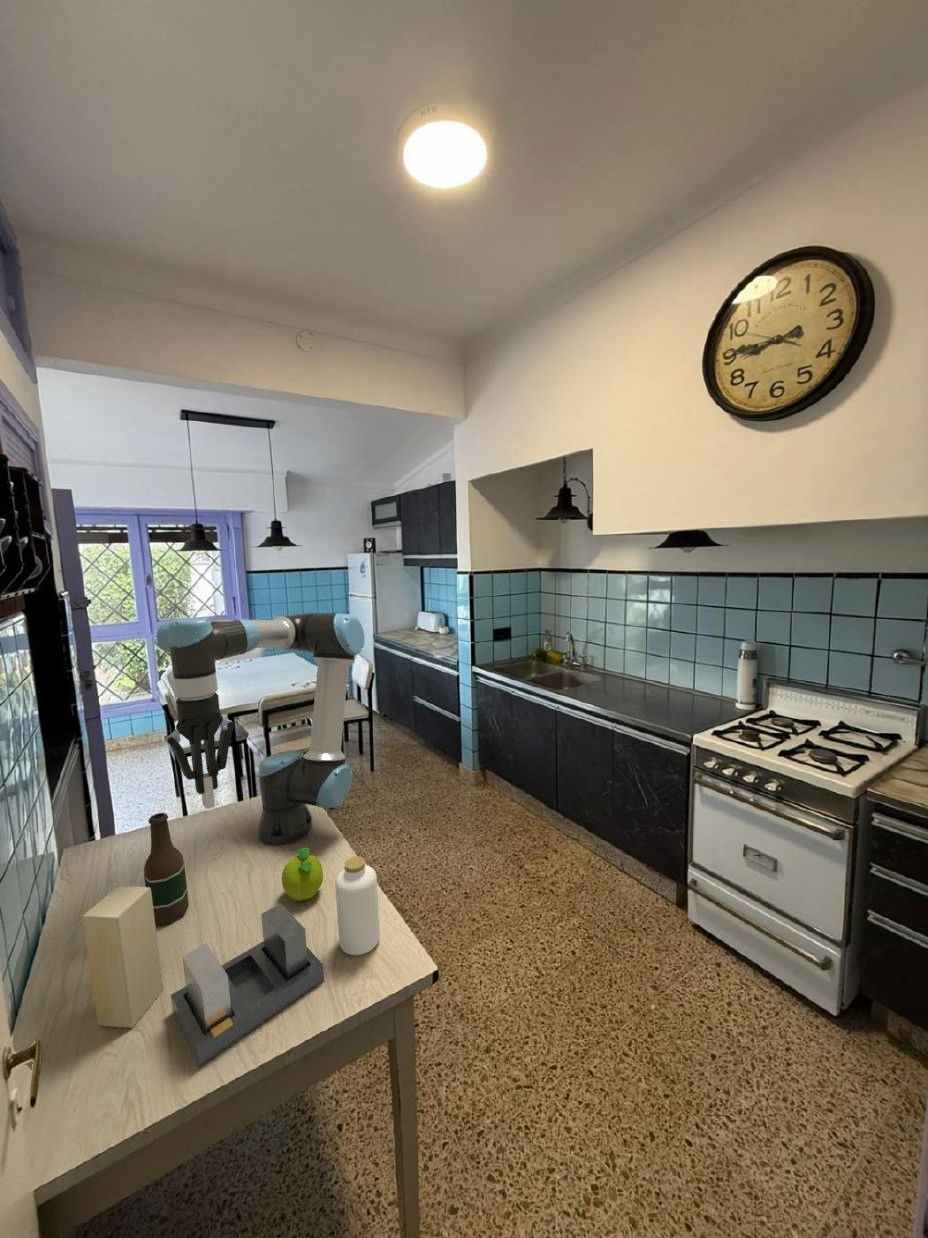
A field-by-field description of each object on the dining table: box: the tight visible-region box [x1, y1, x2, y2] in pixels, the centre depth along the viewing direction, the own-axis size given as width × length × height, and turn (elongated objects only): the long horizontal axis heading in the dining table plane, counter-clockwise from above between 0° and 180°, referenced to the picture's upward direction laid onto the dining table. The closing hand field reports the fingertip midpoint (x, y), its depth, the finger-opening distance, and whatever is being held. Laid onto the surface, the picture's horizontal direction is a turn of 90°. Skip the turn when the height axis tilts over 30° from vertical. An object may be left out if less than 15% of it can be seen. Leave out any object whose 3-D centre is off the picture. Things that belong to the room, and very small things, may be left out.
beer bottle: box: [143, 812, 190, 927], centre depth 111 cm, size 8×8×24 cm
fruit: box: [281, 847, 324, 902], centre depth 117 cm, size 9×9×10 cm
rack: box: [170, 903, 325, 1069], centre depth 91 cm, size 22×14×11 cm, turn 135°
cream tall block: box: [82, 885, 164, 1029], centre depth 88 cm, size 8×7×21 cm
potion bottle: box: [334, 856, 381, 956], centre depth 102 cm, size 8×8×18 cm
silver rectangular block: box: [182, 943, 232, 1036], centre depth 86 cm, size 4×10×10 cm, turn 45°
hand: (208, 805), depth 103 cm, fingers closed
